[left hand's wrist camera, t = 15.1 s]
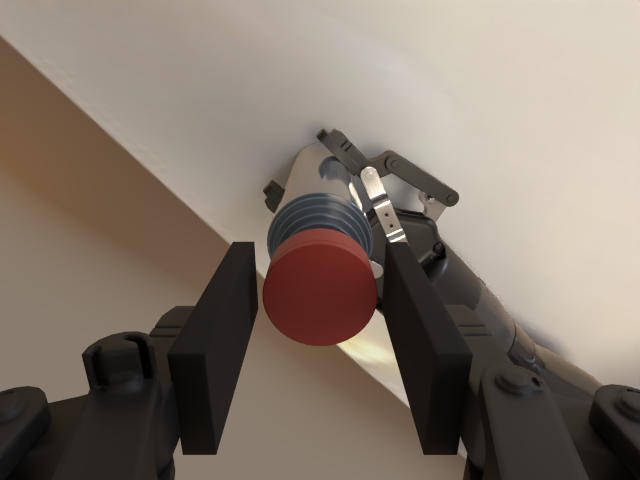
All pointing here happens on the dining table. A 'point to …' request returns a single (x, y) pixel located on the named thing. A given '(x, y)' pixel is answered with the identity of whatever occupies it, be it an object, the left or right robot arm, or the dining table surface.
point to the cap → (320, 288)
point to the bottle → (319, 201)
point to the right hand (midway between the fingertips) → (293, 160)
